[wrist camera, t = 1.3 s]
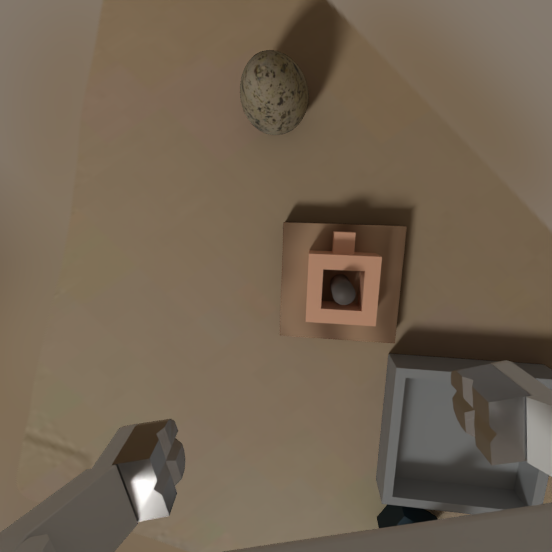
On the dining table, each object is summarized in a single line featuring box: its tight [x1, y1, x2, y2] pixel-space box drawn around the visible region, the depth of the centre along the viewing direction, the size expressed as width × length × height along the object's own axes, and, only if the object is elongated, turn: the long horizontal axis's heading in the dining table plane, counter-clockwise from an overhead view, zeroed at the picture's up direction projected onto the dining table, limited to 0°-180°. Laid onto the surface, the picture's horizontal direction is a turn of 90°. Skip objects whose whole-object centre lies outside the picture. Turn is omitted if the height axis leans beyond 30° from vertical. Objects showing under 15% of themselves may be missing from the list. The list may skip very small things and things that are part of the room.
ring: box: [306, 231, 382, 326], centre depth 32 cm, size 7×9×3 cm
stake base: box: [280, 222, 407, 343], centre depth 33 cm, size 12×12×6 cm
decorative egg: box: [240, 50, 308, 135], centre depth 28 cm, size 6×6×10 cm
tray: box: [376, 354, 552, 514], centre depth 36 cm, size 16×16×4 cm
